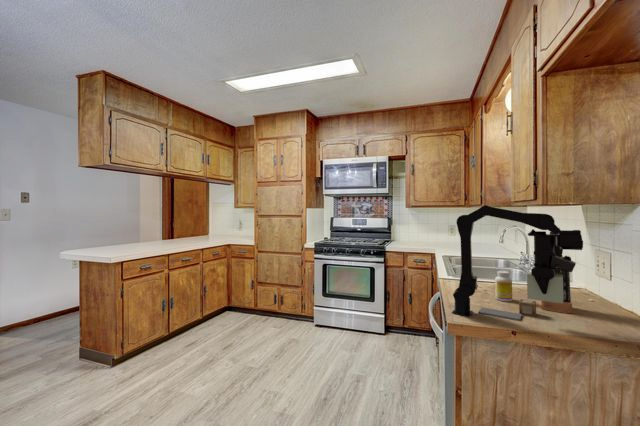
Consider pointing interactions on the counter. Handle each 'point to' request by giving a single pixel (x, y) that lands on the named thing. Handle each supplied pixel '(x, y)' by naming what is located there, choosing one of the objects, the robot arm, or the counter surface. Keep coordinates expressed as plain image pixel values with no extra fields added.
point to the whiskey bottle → (567, 302)
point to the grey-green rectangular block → (553, 289)
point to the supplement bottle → (503, 286)
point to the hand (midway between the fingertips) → (544, 292)
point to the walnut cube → (527, 308)
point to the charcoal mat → (500, 313)
